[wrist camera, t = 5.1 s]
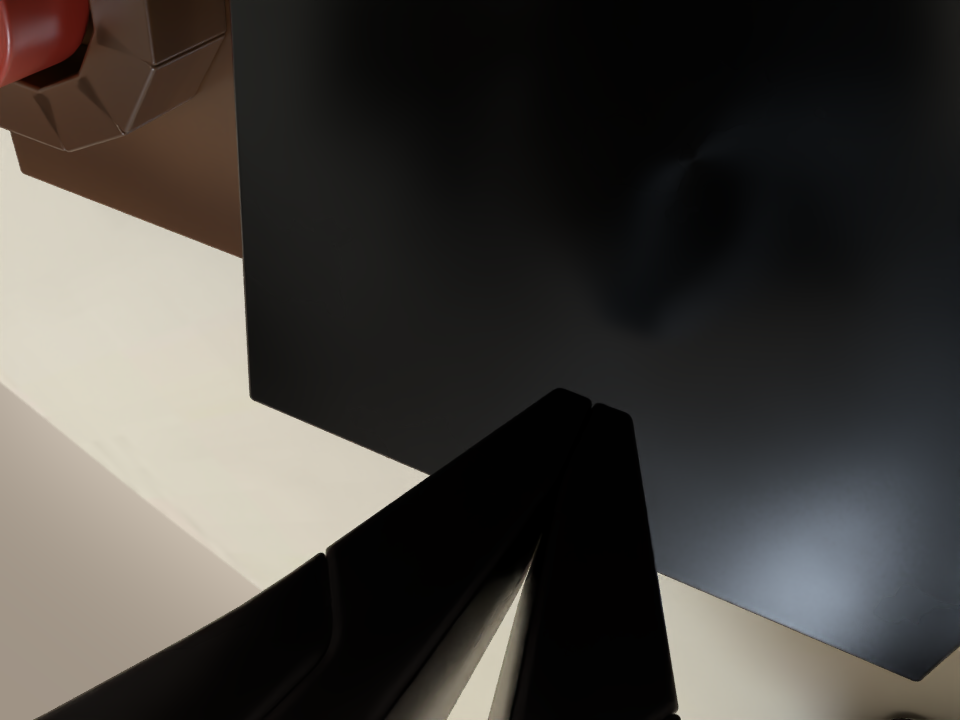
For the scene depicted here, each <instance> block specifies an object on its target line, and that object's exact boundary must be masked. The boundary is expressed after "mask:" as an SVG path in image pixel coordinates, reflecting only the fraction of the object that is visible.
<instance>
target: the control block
mask: <svg viewBox="0 0 960 720" xmlns="http://www.w3.org/2000/svg"><path fill="white" fill-rule="evenodd" d="M89 6H90V14H89V23H88V27H87V31H86V34H85V36H84V39H83V41H82V43H81V44H80V46H79V47H78V49H77V50H76V52H75V53H74V54H73V55H71V56H70V57H69V58H68V59H66V60H64V61H62V62H60V63H58V64H56V65H53V66H51V67H48V68H46V69H44V70H41V71H39V72H37V73H34V74H32V75H29V76H27V77H25V78H22V79H20V80H18V81H15V82H13V83H10V84H8V85H6V86H3V87H1V88H0V127H1V128H4V129H6V130H9V131H10V133H11V137H12V140H13V144H14V148H15V151H16V155H17V158H18V162H19V166H20V169H21V172H22V173H23V174H26V175H28V176H31V177H33V178H36V179H38V180H41V181H44V182H46V183H49V184H51V185H54V186H56V187H59V188H62V189H64V190H67V191H69V192H72V193H75V194H77V195H80V196H82V197H85V198H87V199H90V200H93V201H95V202H98V203H100V204H103V205H105V206H108V207H111V208H113V209H116V210H118V211H121V212H123V213H126V214H129V215H131V216H134V217H136V218H139V219H141V220H144V221H147V222H149V223H152V224H154V225H157V226H160V227H162V228H165V229H167V230H170V231H172V232H175V233H178V234H180V235H183V236H185V237H188V238H190V239H193V240H196V241H198V242H201V243H203V244H206V245H208V246H211V247H214V248H216V249H219V250H221V251H224V252H226V253H229V254H232V255H234V256H237V257H239V258H242V259H243V257H242V238H241V218H240V199H239V179H238V160H237V141H236V121H235V102H234V82H233V63H232V44H231V24H230V5H229V0H89Z"/></svg>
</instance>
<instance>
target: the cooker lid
mask: <svg viewBox="0 0 960 720" xmlns="http://www.w3.org/2000/svg"><path fill="white" fill-rule="evenodd" d="M229 5H230V24H231V44H232V63H233V82H234V102H235V121H236V141H237V160H238V179H239V199H240V218H241V238H242V257H243V277H244V296H245V315H246V335H247V354H248V374H249V393H250V398H251V399H252V400H254V401H256V402H259V403H261V404H263V405H266V406H268V407H270V408H273V409H275V410H277V411H280V412H282V413H284V414H287V415H289V416H291V417H294V418H296V419H299V420H301V421H303V422H306V423H308V424H310V425H313V426H315V427H317V428H320V429H322V430H324V431H327V432H329V433H331V434H334V435H336V436H338V437H341V438H343V439H346V440H348V441H350V442H353V443H355V444H357V445H360V446H362V447H364V448H367V449H369V450H371V451H374V452H376V453H378V454H381V455H383V456H386V457H388V458H390V459H393V460H395V461H397V462H400V463H402V464H404V465H407V466H409V467H411V468H414V469H416V470H418V471H421V472H423V473H425V474H428V475H432V474H433V473H435V472H436V471H438V470H439V469H440V468H442V467H443V466H445V465H446V464H448V463H449V462H450V461H452V460H453V459H455V458H456V457H458V456H459V455H460V454H462V453H463V452H465V451H466V450H468V449H469V448H470V447H472V446H473V445H475V444H476V443H478V442H479V441H480V440H482V439H483V438H485V437H486V436H488V435H489V434H491V433H492V432H493V431H495V430H496V429H498V428H499V427H501V426H502V425H503V424H505V423H506V422H508V421H509V420H511V419H512V418H513V417H515V416H516V415H518V414H519V413H521V412H522V411H523V410H525V409H526V408H528V407H529V406H531V405H532V404H533V403H535V402H536V401H538V400H539V399H541V398H542V397H543V396H545V395H546V394H548V393H549V392H551V391H552V390H554V389H556V388H564V389H567V390H569V391H572V392H575V393H577V394H580V395H582V396H585V397H588V398H589V399H590V400H591V401H592V407H593V405H594V404H596V403H603V404H606V405H608V406H611V407H613V408H616V409H618V410H621V411H624V412H626V413H628V414H629V415H630V416H631V418H632V420H633V425H634V431H635V438H636V444H637V450H638V456H639V463H640V469H641V475H642V482H643V488H644V494H645V500H646V507H647V513H648V519H649V526H650V532H651V538H652V544H653V551H654V557H655V563H656V569H657V572H658V573H661V574H663V575H665V576H668V577H670V578H672V579H675V580H677V581H679V582H682V583H684V584H687V585H689V586H691V587H694V588H696V589H698V590H701V591H703V592H705V593H708V594H710V595H712V596H715V597H717V598H719V599H722V600H724V601H726V602H729V603H731V604H734V605H736V606H738V607H741V608H743V609H745V610H748V611H750V612H752V613H755V614H757V615H759V616H762V617H764V618H766V619H769V620H771V621H774V622H776V623H778V624H781V625H783V626H785V627H788V628H790V629H792V630H795V631H797V632H799V633H802V634H804V635H806V636H809V637H811V638H813V639H816V640H818V641H821V642H823V643H825V644H828V645H830V646H832V647H835V648H837V649H839V650H842V651H844V652H846V653H849V654H851V655H853V656H856V657H858V658H861V659H863V660H865V661H868V662H870V663H872V664H875V665H877V666H879V667H882V668H884V669H886V670H889V671H891V672H893V673H896V674H898V675H900V676H903V677H905V678H908V679H910V680H912V681H921V680H922V679H923V678H924V677H925V676H927V675H928V674H929V673H930V672H931V671H932V670H933V669H934V668H935V667H937V666H938V665H939V664H940V663H941V662H942V661H943V660H944V659H946V658H947V657H948V656H949V655H950V654H951V653H952V652H953V651H955V650H956V649H957V648H958V647H959V646H960V0H229Z"/></svg>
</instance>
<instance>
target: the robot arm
mask: <svg viewBox="0 0 960 720" xmlns="http://www.w3.org/2000/svg"><path fill="white" fill-rule="evenodd" d="M529 568H530V569H529ZM528 570H529V572H528ZM527 572H528V574H527ZM526 575H527V577H526ZM525 577H526V580H525V583H524V586H523V589H522V593H521V596H520V600H519V603H518V606H517V610H516V614H515V618H514V622H513V626H512V629H511V633H510V637H509V641H508V645H507V648H506V652H505V656H504V660H503V664H502V668H501V671H500V675H499V679H498V683H497V687H496V690H495V694H494V698H493V702H492V706H491V710H490V713H489V717H488V720H681V718H680V717H679V716H678V715H677V714H675V713H676V712H677V710H678V701H677V695H676V689H675V683H674V676H673V670H672V664H671V657H670V651H669V645H668V639H667V632H666V626H665V620H664V613H663V607H662V601H661V595H660V588H659V582H658V576H657V569H656V563H655V557H654V551H653V544H652V538H651V532H650V526H649V519H648V513H647V507H646V500H645V494H644V488H643V482H642V475H641V469H640V463H639V456H638V450H637V444H636V438H635V431H634V425H633V420H632V418H631V416H630V415H629V414H628V413H626V412H624V411H621V410H618V409H616V408H613V407H611V406H608V405H606V404H603V403H596V404H594V405H593V407H592V401H591V400H590V399H589V398H588V397H585V396H582V395H580V394H577V393H575V392H572V391H569V390H567V389H564V388H556V389H554V390H552V391H551V392H549V393H548V394H546V395H545V396H543V397H542V398H541V399H539V400H538V401H536V402H535V403H533V404H532V405H531V406H529V407H528V408H526V409H525V410H523V411H522V412H521V413H519V414H518V415H516V416H515V417H513V418H512V419H511V420H509V421H508V422H506V423H505V424H503V425H502V426H501V427H499V428H498V429H496V430H495V431H493V432H492V433H491V434H489V435H488V436H486V437H485V438H483V439H482V440H480V441H479V442H478V443H476V444H475V445H473V446H472V447H470V448H469V449H468V450H466V451H465V452H463V453H462V454H460V455H459V456H458V457H456V458H455V459H453V460H452V461H450V462H449V463H448V464H446V465H445V466H443V467H442V468H440V469H439V470H438V471H436V472H435V473H433V474H432V475H430V476H429V477H428V478H426V479H425V480H423V481H422V482H420V483H419V484H418V485H416V486H415V487H413V488H412V489H410V490H409V491H408V492H406V493H405V494H403V495H402V496H400V497H399V498H398V499H396V500H395V501H393V502H392V503H390V504H389V505H387V506H386V507H385V508H383V509H382V510H380V511H379V512H377V513H376V514H375V515H373V516H372V517H370V518H369V519H367V520H366V521H365V522H363V523H362V524H360V525H359V526H357V527H356V528H355V529H353V530H352V531H350V532H349V533H347V534H346V535H345V536H343V537H342V538H340V539H339V540H337V541H336V542H335V543H333V544H332V545H330V546H329V547H328V548H327V549H326V555H325V554H324V553H318V554H317V555H315V556H314V557H312V558H311V559H310V560H308V561H307V562H305V563H304V564H303V565H301V566H300V567H298V568H297V569H295V570H294V571H293V572H291V573H290V574H288V575H287V576H285V577H284V578H282V579H281V580H279V581H278V582H276V583H274V584H273V585H271V586H270V587H268V588H267V589H265V590H264V591H262V592H261V593H259V594H258V595H256V596H255V597H253V598H252V599H250V600H248V601H247V602H245V603H244V604H242V605H241V606H239V607H237V608H236V609H234V610H232V611H231V612H229V613H227V614H225V615H224V616H222V617H220V618H218V619H217V620H215V621H213V622H211V623H210V624H208V625H206V626H205V627H203V628H201V629H199V630H198V631H196V632H194V633H192V634H191V635H189V636H187V637H185V638H184V639H182V640H180V641H178V642H176V643H174V644H173V645H171V646H169V647H167V648H165V649H164V650H162V651H160V652H158V653H156V654H154V655H152V656H150V657H149V658H147V659H145V660H143V661H141V662H140V663H138V664H136V665H134V666H132V667H130V668H129V669H127V670H125V671H123V672H121V673H119V674H117V675H116V676H114V677H112V678H110V679H108V680H106V681H105V682H103V683H101V684H99V685H97V686H95V687H94V688H92V689H90V690H88V691H86V692H84V693H83V694H81V695H79V696H77V697H75V698H73V699H72V700H70V701H68V702H66V703H64V704H62V705H61V706H59V707H57V708H55V709H53V710H51V711H50V712H48V713H46V714H44V715H42V716H40V717H38V718H36V719H34V720H447V718H448V716H449V714H450V712H451V711H452V709H453V707H454V705H455V704H456V702H457V700H458V698H459V697H460V695H461V693H462V691H463V689H464V688H465V686H466V684H467V682H468V681H469V679H470V677H471V675H472V674H473V672H474V670H475V668H476V666H477V665H478V663H479V661H480V659H481V658H482V656H483V654H484V652H485V651H486V649H487V647H488V645H489V644H490V642H491V640H492V638H493V636H494V635H495V633H496V631H497V629H498V628H499V626H500V624H501V622H502V621H503V619H504V617H505V615H506V613H507V612H508V610H509V608H510V606H511V605H512V603H513V601H514V599H515V597H516V595H517V593H518V591H519V589H520V588H521V586H522V584H523V581H524V579H525ZM893 720H911V719H905V718H897V719H893Z"/></svg>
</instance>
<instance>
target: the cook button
mask: <svg viewBox="0 0 960 720" xmlns="http://www.w3.org/2000/svg"><path fill="white" fill-rule="evenodd" d="M89 14H90V6H89V0H0V88H1V87H3V86H6V85H8V84H10V83H13V82H15V81H18V80H20V79H22V78H25V77H27V76H29V75H32V74H34V73H37V72H39V71H41V70H44V69H46V68H48V67H51V66H53V65H56V64H58V63H60V62H62V61H64V60H66V59H68V58H69V57H70V56H71V55H73V54H74V53H75V52H76V50H77V49H78V47H79V46H80V44H81V43H82V41H83V39H84V36H85V34H86V31H87V27H88V23H89Z"/></svg>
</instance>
